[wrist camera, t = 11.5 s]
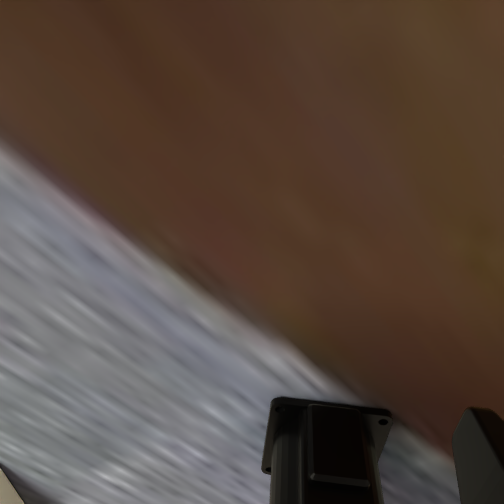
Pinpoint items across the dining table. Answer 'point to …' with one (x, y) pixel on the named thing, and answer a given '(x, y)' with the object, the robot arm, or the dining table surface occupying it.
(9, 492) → the gable box
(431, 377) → the dining table surface
